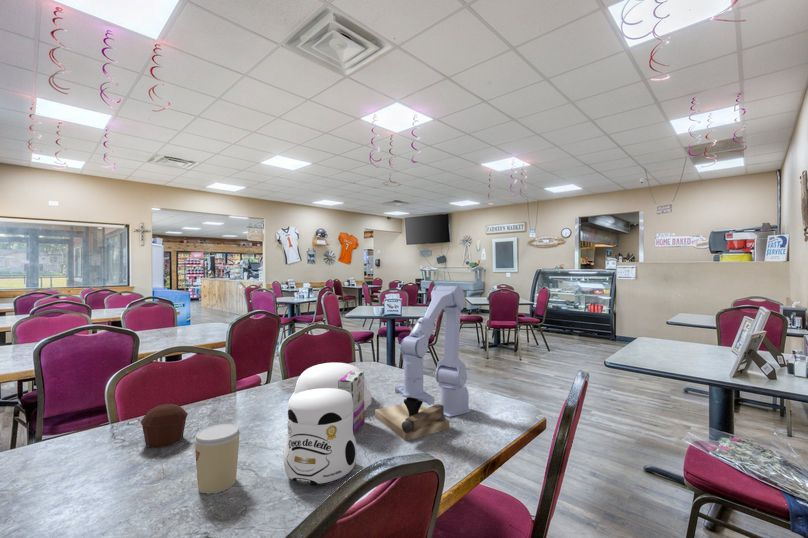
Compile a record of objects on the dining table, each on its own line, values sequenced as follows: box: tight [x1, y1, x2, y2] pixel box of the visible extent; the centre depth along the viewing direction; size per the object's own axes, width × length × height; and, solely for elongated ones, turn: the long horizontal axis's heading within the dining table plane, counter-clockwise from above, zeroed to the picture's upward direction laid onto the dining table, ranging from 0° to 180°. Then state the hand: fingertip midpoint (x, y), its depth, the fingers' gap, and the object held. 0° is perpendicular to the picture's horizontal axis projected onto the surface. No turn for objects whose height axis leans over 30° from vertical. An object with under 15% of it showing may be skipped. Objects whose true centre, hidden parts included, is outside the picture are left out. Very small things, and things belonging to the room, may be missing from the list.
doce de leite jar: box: [282, 388, 358, 487], centre depth 88 cm, size 17×17×18 cm
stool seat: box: [374, 403, 450, 441], centre depth 117 cm, size 16×20×3 cm
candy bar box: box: [338, 370, 365, 435], centre depth 113 cm, size 11×5×16 cm, turn 168°
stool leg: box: [402, 403, 445, 433], centre depth 109 cm, size 18×3×3 cm, turn 140°
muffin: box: [140, 403, 189, 449], centre depth 105 cm, size 12×11×10 cm
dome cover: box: [290, 362, 372, 412], centre depth 136 cm, size 32×30×14 cm
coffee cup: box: [193, 423, 241, 495], centre depth 83 cm, size 9×9×12 cm
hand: (413, 422), depth 108 cm, fingers closed
